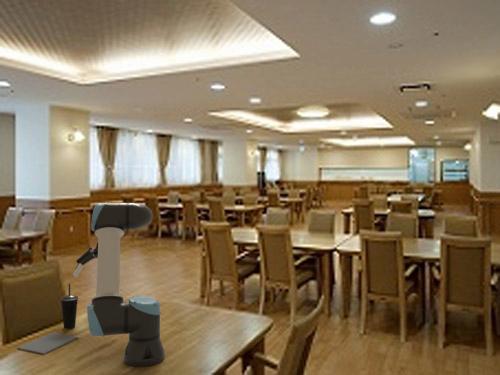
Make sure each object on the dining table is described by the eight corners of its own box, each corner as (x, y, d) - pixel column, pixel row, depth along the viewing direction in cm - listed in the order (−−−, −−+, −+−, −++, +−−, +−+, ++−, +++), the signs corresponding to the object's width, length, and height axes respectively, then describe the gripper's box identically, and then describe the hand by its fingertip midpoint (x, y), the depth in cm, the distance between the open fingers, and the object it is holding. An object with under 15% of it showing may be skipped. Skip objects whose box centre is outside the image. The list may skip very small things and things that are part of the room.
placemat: (77, 338, 186) (77, 336, 186) (44, 354, 169) (44, 353, 169) (52, 333, 191) (52, 332, 191) (17, 349, 174) (17, 347, 174)
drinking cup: (81, 324, 202) (81, 282, 201) (73, 330, 195) (73, 286, 194) (65, 323, 203) (65, 281, 202) (57, 329, 195) (57, 286, 195)
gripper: (130, 248, 220) (110, 284, 206) (90, 244, 229) (69, 279, 215) (123, 239, 215) (103, 275, 201) (83, 236, 223) (61, 270, 210)
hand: (85, 277), depth 208 cm, fingers open, 13 cm apart
